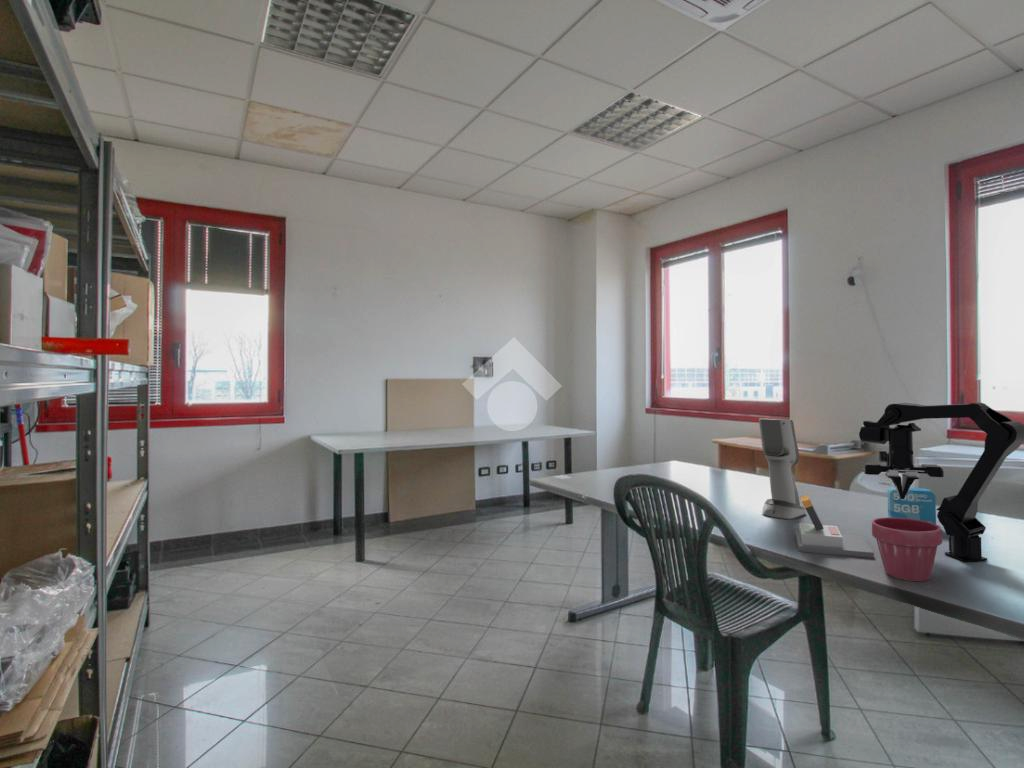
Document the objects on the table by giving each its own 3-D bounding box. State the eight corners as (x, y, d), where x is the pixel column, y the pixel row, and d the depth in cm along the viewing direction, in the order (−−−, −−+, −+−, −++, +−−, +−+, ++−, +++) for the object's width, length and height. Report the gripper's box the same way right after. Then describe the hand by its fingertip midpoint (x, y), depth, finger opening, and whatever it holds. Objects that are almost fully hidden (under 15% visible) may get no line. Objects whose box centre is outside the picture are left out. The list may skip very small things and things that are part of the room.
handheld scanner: (756, 514, 195) (754, 418, 194) (775, 508, 202) (772, 415, 202) (789, 520, 185) (786, 419, 185) (807, 514, 193) (804, 416, 192)
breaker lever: (821, 522, 161) (807, 494, 163) (824, 528, 155) (809, 499, 156) (813, 524, 162) (800, 496, 164) (816, 531, 156) (801, 501, 157)
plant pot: (866, 562, 143) (865, 514, 143) (930, 567, 138) (929, 518, 138) (881, 582, 130) (879, 529, 130) (952, 588, 125) (951, 533, 125)
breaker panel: (863, 541, 161) (863, 525, 161) (873, 558, 146) (873, 541, 146) (795, 535, 168) (795, 520, 168) (799, 551, 154) (798, 535, 154)
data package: (890, 525, 175) (889, 489, 175) (888, 522, 179) (887, 486, 179) (936, 529, 170) (935, 491, 170) (932, 525, 174) (931, 488, 174)
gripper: (931, 443, 161) (933, 495, 161) (858, 441, 169) (859, 491, 169) (943, 448, 151) (944, 503, 151) (864, 446, 159) (866, 499, 159)
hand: (902, 498), depth 158 cm, fingers closed
